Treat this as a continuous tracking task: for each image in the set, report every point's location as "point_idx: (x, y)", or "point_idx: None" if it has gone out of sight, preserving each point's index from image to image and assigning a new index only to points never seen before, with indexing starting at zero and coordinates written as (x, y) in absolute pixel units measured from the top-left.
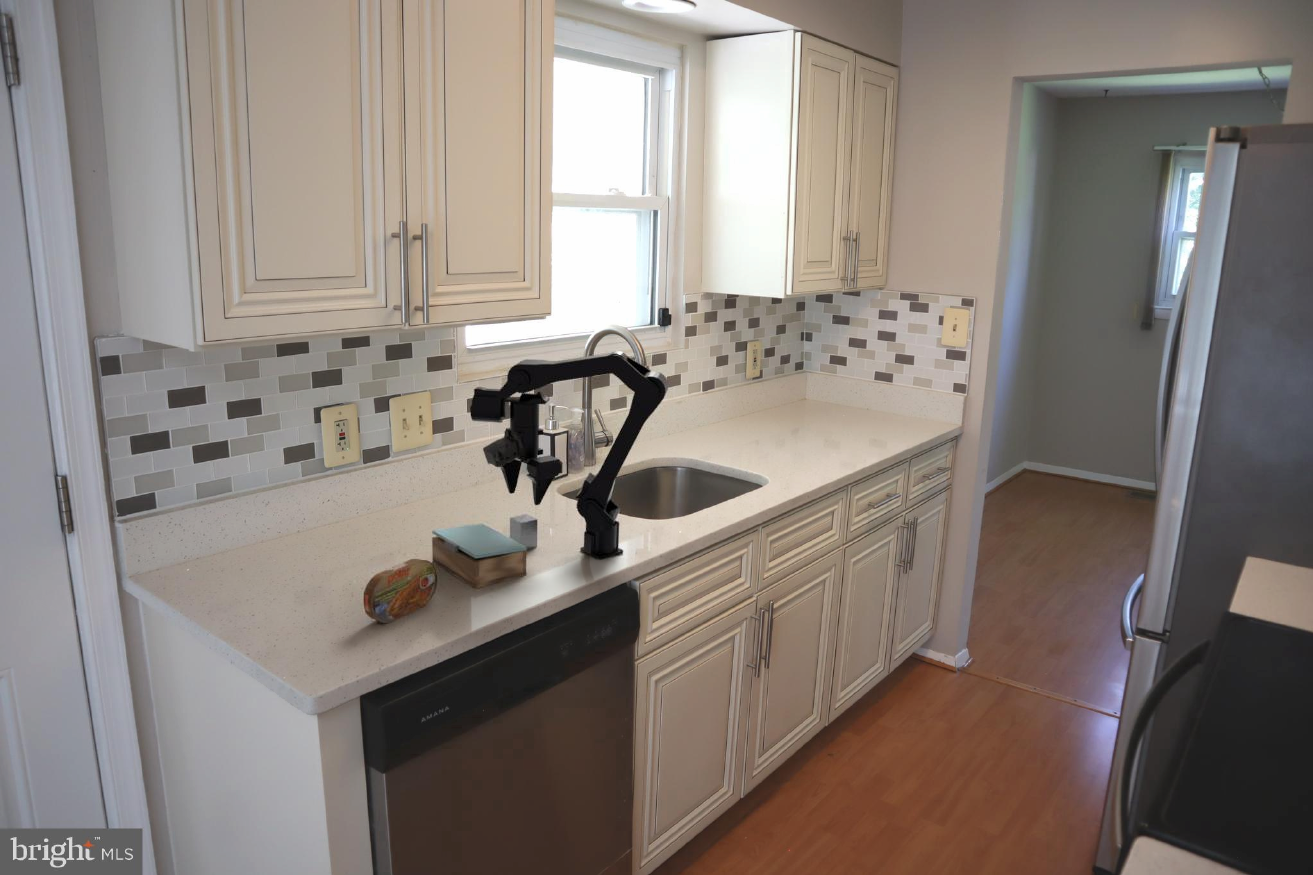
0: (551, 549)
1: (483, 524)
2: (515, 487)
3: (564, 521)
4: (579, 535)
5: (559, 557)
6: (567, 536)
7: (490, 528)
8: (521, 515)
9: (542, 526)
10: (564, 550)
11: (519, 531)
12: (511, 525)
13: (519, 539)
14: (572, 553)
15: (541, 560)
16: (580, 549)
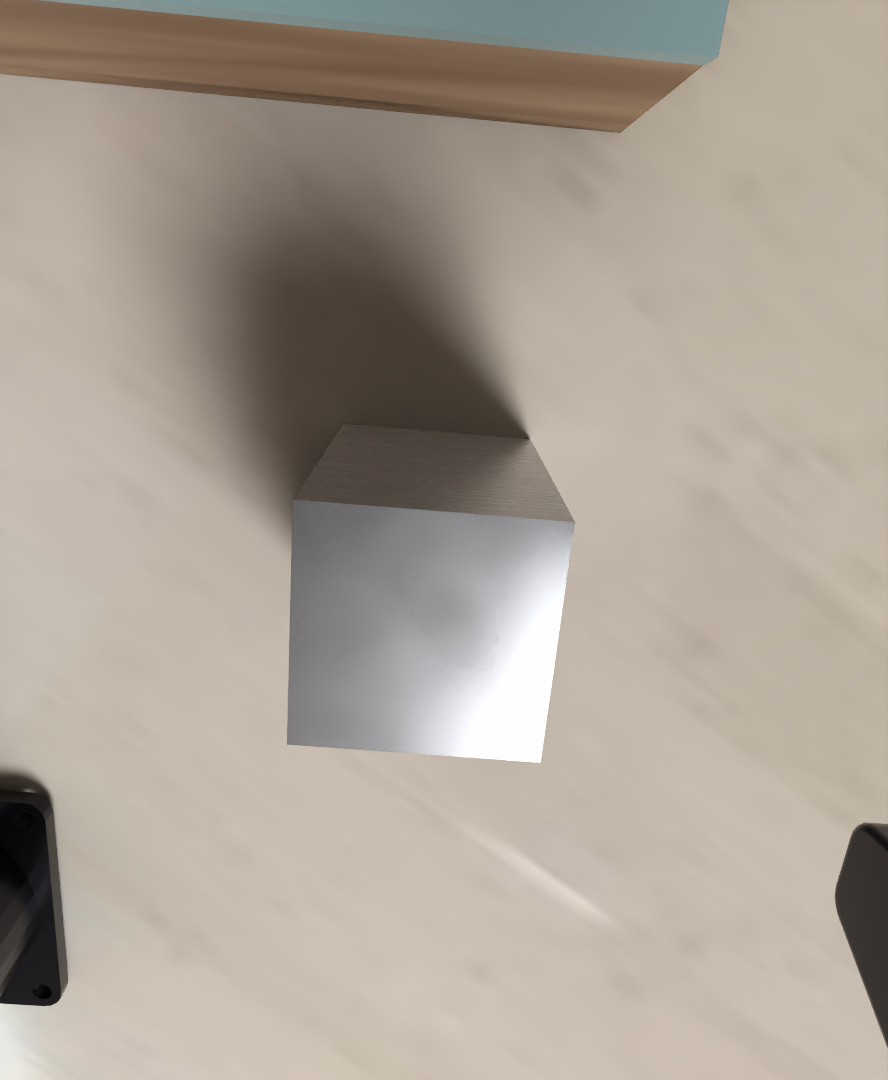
0: (208, 647)
1: (660, 42)
2: (884, 1016)
3: (641, 1060)
4: (331, 970)
5: (10, 583)
6: (372, 901)
7: (430, 7)
8: (534, 684)
9: (680, 898)
10: (127, 709)
11: (342, 468)
12: (522, 489)
13: (352, 447)
14: (33, 715)
15: (30, 420)
16: (37, 797)
